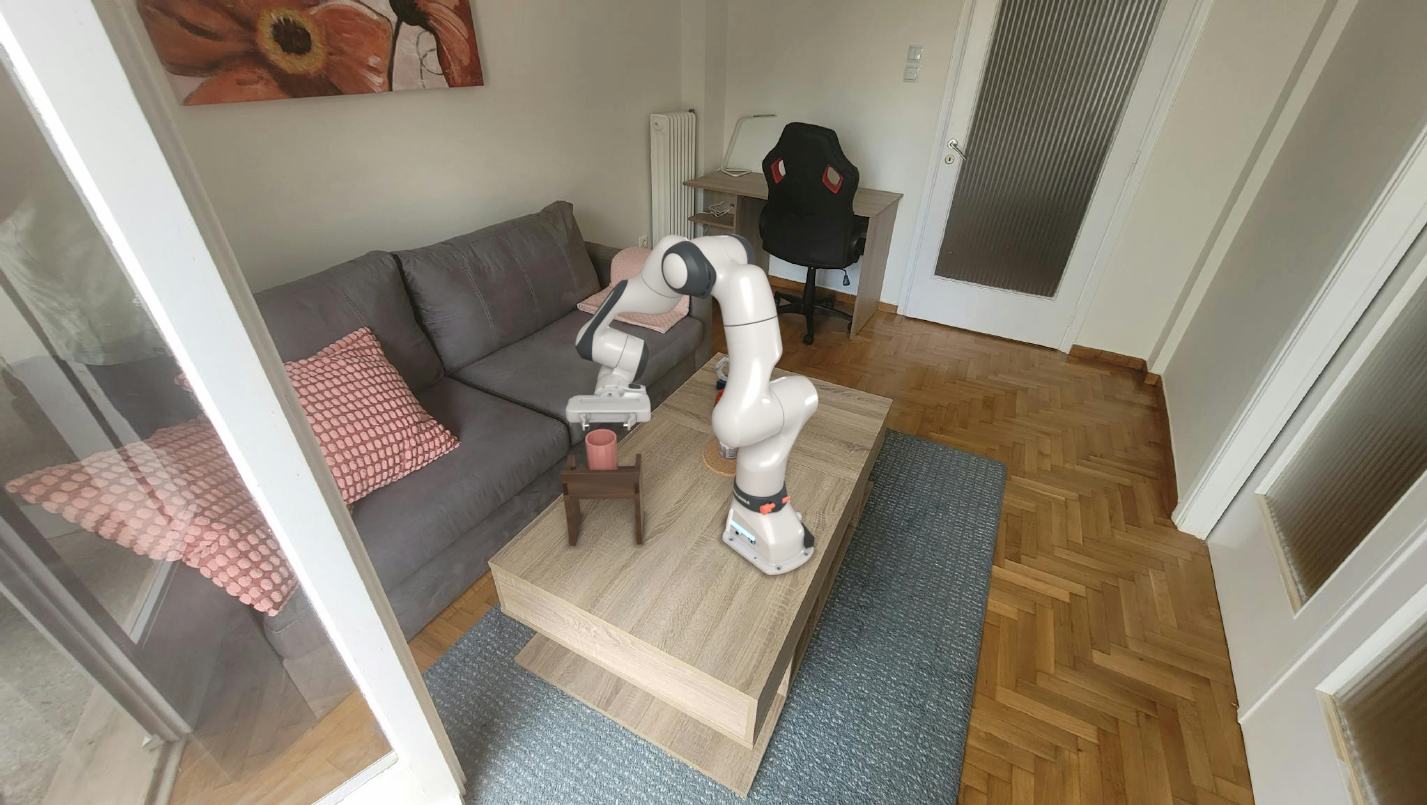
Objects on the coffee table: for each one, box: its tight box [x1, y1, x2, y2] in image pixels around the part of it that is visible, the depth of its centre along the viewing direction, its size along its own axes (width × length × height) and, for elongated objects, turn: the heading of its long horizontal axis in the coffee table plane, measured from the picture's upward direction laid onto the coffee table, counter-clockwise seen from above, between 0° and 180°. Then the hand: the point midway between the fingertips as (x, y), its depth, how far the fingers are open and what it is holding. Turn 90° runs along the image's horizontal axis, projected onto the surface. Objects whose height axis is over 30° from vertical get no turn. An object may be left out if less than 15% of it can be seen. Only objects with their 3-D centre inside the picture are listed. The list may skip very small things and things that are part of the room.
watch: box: [714, 356, 729, 391], centre depth 194 cm, size 6×8×11 cm
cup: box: [584, 428, 619, 470], centre depth 129 cm, size 7×7×10 cm
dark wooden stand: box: [559, 453, 645, 547], centre depth 133 cm, size 10×16×21 cm, turn 93°
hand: (606, 428), depth 135 cm, fingers open, 8 cm apart
